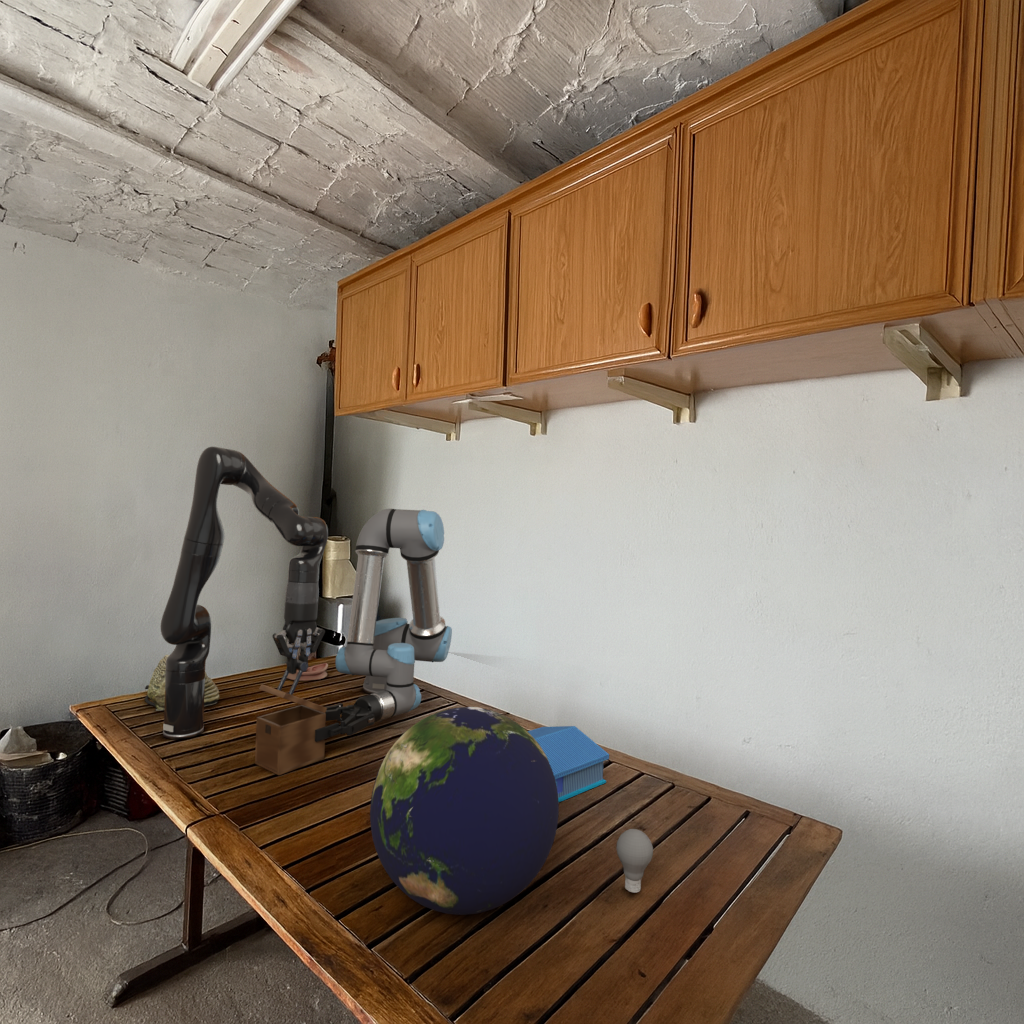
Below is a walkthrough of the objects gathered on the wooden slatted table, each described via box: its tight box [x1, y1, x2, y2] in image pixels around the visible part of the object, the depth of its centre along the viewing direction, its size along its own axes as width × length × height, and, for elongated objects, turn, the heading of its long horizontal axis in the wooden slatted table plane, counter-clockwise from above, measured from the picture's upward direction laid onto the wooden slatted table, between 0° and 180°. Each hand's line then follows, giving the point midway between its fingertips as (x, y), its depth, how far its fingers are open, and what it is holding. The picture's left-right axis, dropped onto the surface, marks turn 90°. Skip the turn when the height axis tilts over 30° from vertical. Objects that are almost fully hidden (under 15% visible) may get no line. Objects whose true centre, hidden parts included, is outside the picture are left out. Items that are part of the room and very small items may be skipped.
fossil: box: [146, 654, 221, 712], centre depth 185 cm, size 9×18×15 cm, turn 132°
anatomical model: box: [286, 662, 329, 682], centre depth 220 cm, size 13×4×12 cm
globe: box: [369, 706, 560, 916], centre depth 102 cm, size 30×30×30 cm
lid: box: [258, 659, 327, 713], centre depth 152 cm, size 13×10×9 cm
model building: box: [526, 725, 610, 803], centre depth 140 cm, size 39×24×10 cm, turn 132°
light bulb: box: [615, 828, 654, 894], centre depth 106 cm, size 6×6×10 cm
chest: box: [254, 704, 327, 776], centre depth 151 cm, size 12×10×11 cm
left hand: (297, 672), depth 151 cm, fingers closed on lid, 2 cm apart
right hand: (302, 730), depth 153 cm, fingers closed on chest, 9 cm apart
